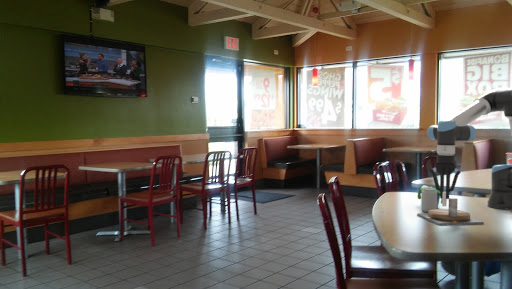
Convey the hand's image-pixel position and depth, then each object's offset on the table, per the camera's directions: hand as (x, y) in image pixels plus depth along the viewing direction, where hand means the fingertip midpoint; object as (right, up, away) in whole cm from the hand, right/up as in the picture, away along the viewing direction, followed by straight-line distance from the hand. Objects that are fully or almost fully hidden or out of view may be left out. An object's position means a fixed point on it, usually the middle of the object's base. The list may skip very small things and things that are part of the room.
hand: (444, 205), depth 192 cm
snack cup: (+9, -6, +36) cm, 38 cm away
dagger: (+19, -5, +64) cm, 67 cm away
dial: (+5, -6, +6) cm, 10 cm away
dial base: (+5, -7, +7) cm, 11 cm away
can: (+4, -7, +26) cm, 27 cm away
